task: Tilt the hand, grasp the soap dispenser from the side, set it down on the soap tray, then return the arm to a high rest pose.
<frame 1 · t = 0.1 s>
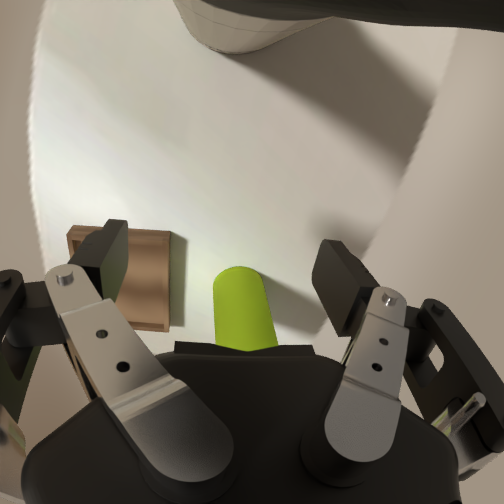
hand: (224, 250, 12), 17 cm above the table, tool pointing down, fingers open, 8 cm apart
soap dispenser: (234, 283, 36), on the table
soap tray: (123, 277, 33), on the table
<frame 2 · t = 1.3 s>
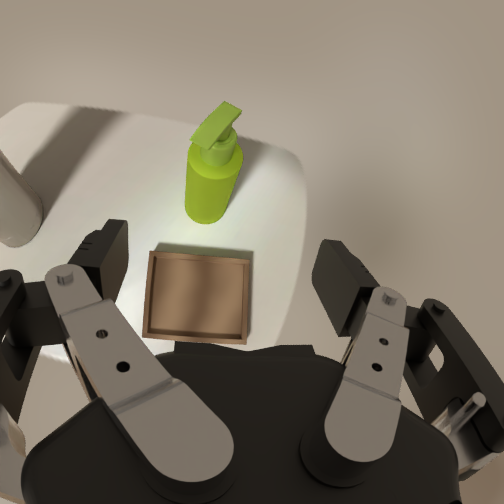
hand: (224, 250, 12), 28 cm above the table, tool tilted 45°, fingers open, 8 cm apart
soap dispenser: (203, 208, 43), on the table
soap tray: (195, 299, 39), on the table
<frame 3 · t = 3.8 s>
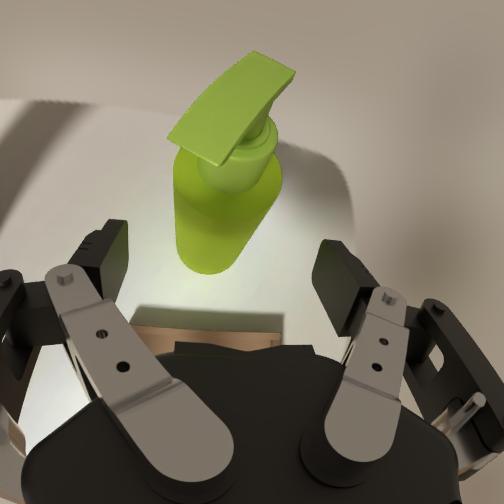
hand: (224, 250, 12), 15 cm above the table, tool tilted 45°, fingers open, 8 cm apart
soap dispenser: (205, 248, 28), on the table
soap tray: (199, 392, 24), on the table
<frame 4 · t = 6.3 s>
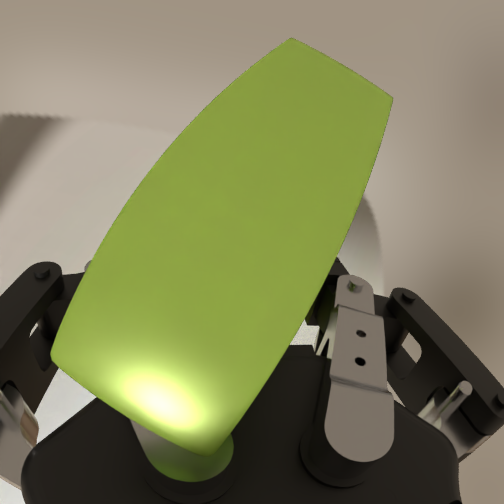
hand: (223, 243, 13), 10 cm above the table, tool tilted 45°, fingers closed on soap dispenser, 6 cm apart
soap dispenser: (203, 308, 22), on the table, touching gripper
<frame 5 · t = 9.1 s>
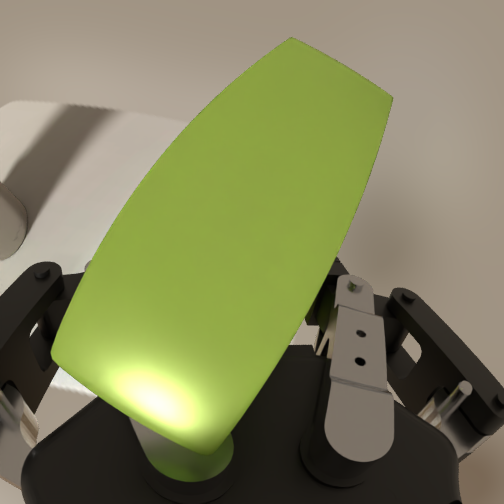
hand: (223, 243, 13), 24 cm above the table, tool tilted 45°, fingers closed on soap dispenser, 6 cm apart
soap dispenser: (203, 308, 22), point 14 cm above the table, touching gripper
when the fingers open (13 cm above the table, at t = 12.3 s): soap dispenser drops 1 cm, resting on soap tray.
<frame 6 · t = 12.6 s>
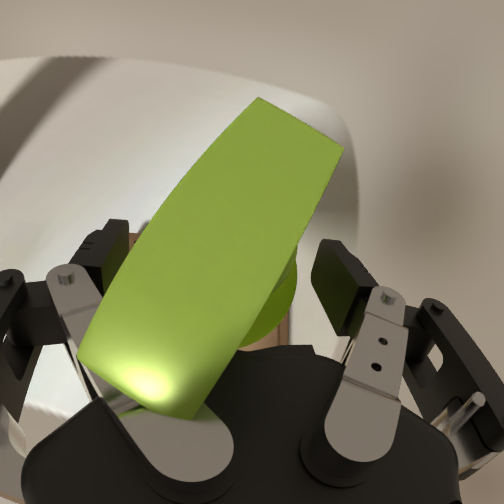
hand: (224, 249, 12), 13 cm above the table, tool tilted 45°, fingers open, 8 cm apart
soap dispenser: (198, 313, 23), point 1 cm above the table, touching soap tray
soap tray: (203, 311, 24), on the table
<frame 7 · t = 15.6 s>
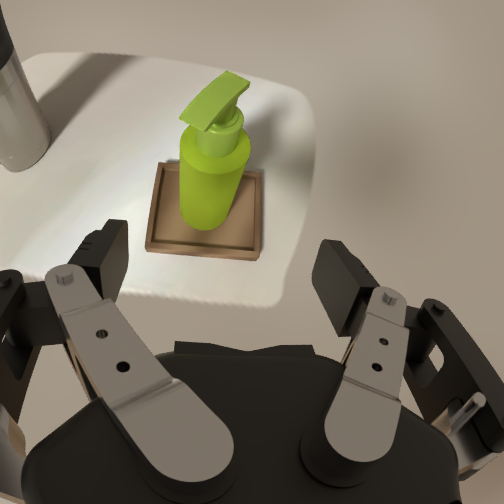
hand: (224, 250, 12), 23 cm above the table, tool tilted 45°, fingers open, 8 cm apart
soap dispenser: (201, 211, 36), point 1 cm above the table, touching soap tray
soap tray: (204, 213, 37), on the table
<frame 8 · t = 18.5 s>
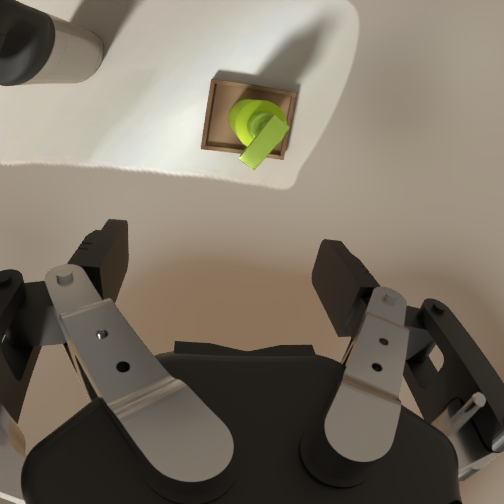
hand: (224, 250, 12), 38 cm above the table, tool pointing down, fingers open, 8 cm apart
soap dispenser: (245, 120, 44), point 1 cm above the table, touching soap tray
soap tray: (247, 118, 45), on the table
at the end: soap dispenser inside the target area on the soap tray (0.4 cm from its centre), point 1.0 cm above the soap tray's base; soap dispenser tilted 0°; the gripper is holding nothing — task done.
